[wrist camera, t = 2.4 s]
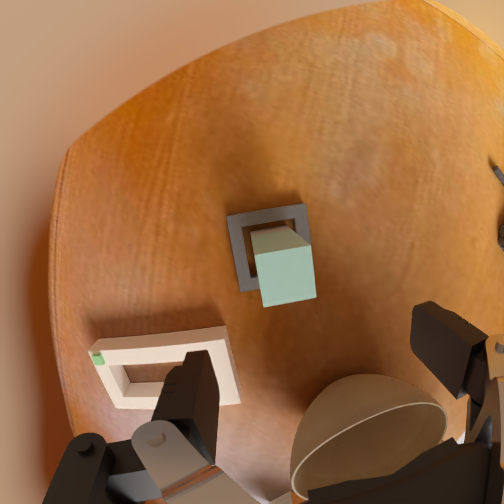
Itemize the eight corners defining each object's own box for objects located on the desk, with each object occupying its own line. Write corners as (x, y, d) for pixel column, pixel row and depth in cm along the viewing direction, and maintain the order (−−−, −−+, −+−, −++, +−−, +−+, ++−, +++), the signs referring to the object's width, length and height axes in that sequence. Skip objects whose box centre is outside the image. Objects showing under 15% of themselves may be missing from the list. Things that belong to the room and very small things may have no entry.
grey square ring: (302, 202, 27) (305, 203, 26) (312, 275, 29) (315, 278, 28) (226, 215, 27) (226, 216, 26) (240, 287, 29) (240, 292, 28)
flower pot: (424, 373, 33) (467, 423, 21) (340, 450, 36) (360, 507, 24) (348, 315, 30) (397, 378, 18) (250, 415, 33) (254, 489, 21)
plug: (286, 225, 28) (310, 245, 18) (291, 260, 28) (316, 297, 19) (250, 231, 28) (254, 254, 18) (256, 266, 28) (263, 307, 19)
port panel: (225, 325, 30) (224, 342, 26) (240, 387, 32) (241, 406, 28) (98, 338, 30) (85, 353, 26) (123, 394, 32) (114, 411, 28)
